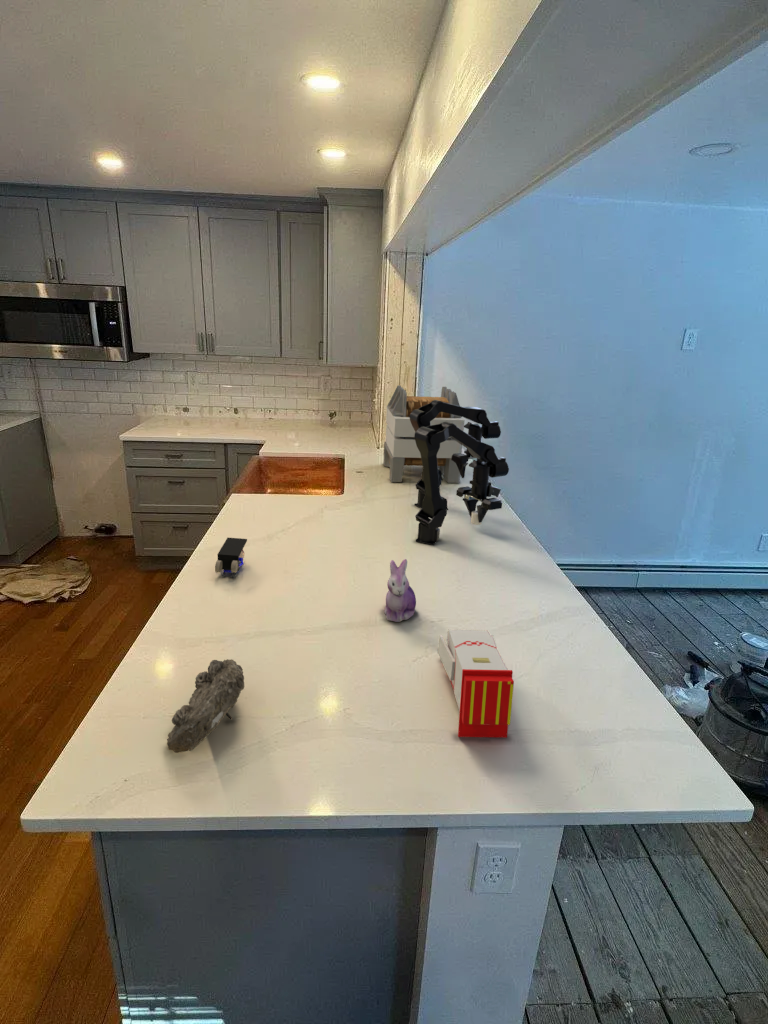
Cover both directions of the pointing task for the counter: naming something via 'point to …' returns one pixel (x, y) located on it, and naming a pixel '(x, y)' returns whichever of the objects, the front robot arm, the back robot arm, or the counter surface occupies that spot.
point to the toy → (478, 682)
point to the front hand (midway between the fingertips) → (476, 520)
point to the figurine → (399, 594)
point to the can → (475, 518)
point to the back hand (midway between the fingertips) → (471, 476)
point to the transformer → (401, 435)
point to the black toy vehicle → (230, 556)
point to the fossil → (206, 705)
